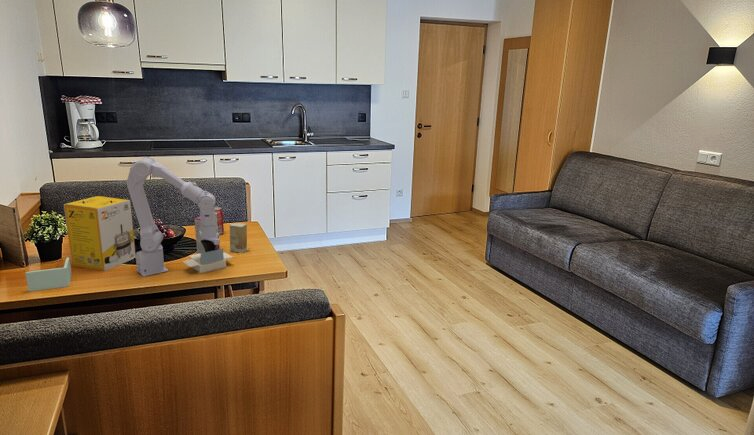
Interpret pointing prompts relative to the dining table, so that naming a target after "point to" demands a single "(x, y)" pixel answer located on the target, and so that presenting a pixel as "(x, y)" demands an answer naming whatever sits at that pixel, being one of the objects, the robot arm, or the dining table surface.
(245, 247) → the skincare box
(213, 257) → the flap
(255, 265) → the dining table surface
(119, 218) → the packaging box
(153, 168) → the robot arm
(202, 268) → the carton
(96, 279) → the dining table surface
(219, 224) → the soda can
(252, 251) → the dining table surface
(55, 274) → the l-shaped corner panel
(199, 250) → the candy bar box
